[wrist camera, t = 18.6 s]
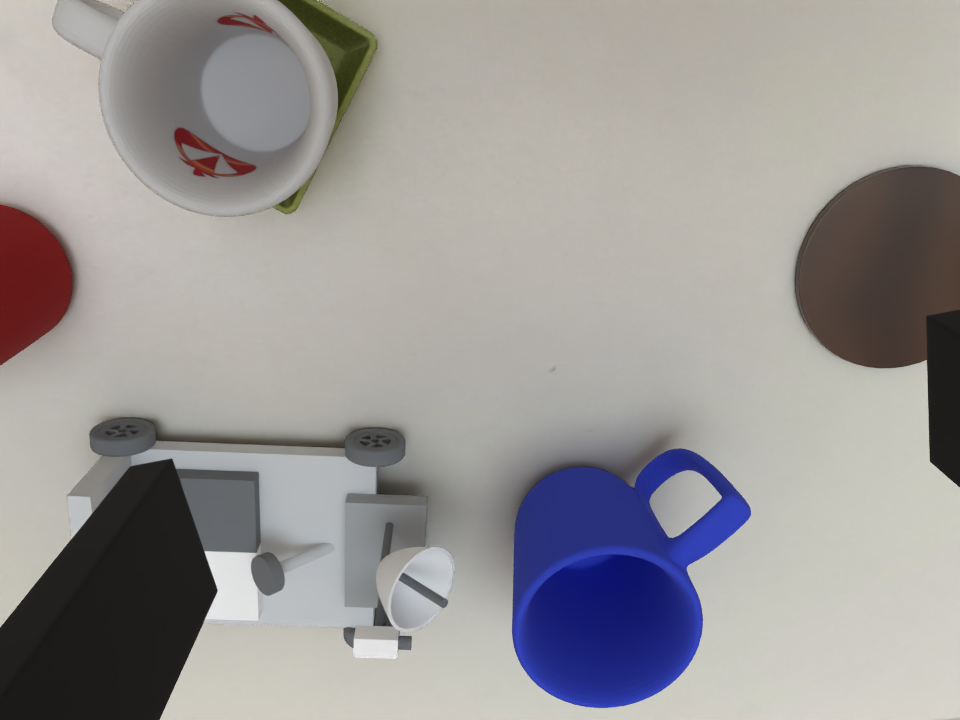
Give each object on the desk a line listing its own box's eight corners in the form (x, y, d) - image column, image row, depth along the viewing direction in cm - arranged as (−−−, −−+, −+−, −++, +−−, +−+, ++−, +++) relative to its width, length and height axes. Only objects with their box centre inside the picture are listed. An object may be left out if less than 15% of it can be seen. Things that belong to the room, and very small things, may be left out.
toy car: (458, 526, 36) (446, 752, 40) (458, 430, 45) (448, 621, 49) (9, 510, 35) (40, 742, 39) (103, 416, 44) (120, 610, 48)
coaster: (997, 145, 41) (1004, 146, 41) (1000, 343, 44) (1006, 346, 44) (785, 190, 42) (789, 191, 41) (804, 383, 45) (807, 386, 44)
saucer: (203, -68, 37) (189, -75, 35) (385, 39, 39) (381, 38, 37) (125, 116, 40) (108, 119, 38) (299, 210, 41) (291, 218, 39)
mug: (741, 470, 46) (814, 576, 37) (572, 609, 49) (600, 741, 39) (639, 366, 44) (689, 449, 35) (469, 516, 47) (472, 632, 37)
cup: (78, 102, 37) (-18, 114, 30) (144, -81, 35) (59, -118, 28) (311, 218, 39) (276, 256, 32) (387, 51, 37) (369, 49, 30)
